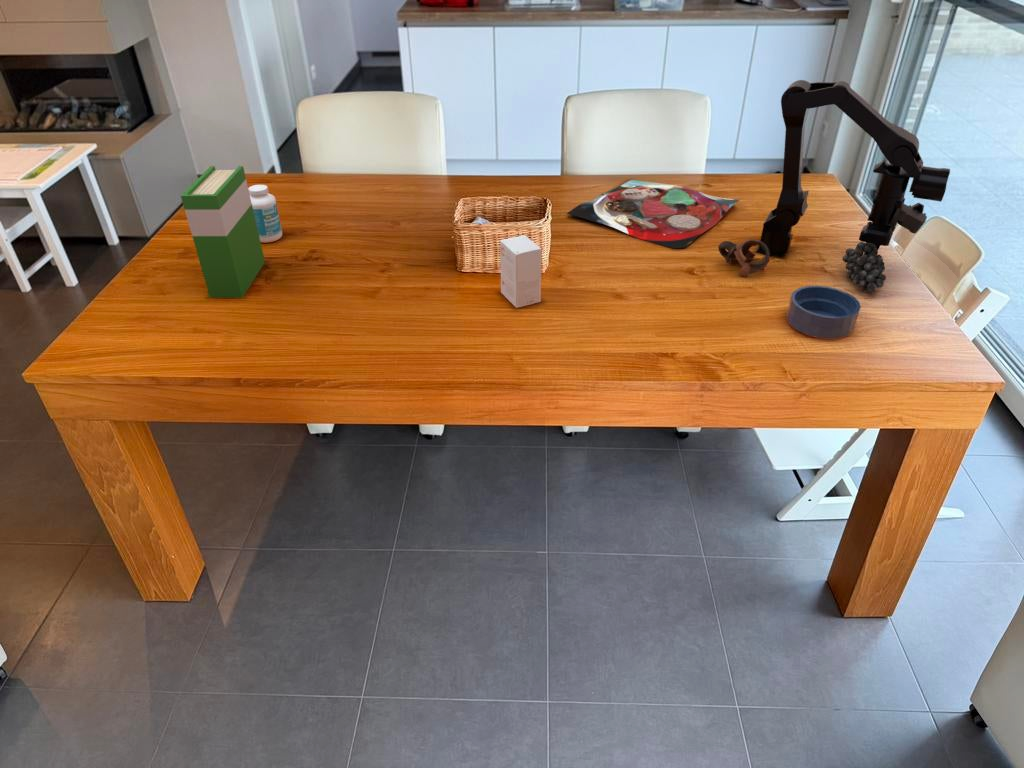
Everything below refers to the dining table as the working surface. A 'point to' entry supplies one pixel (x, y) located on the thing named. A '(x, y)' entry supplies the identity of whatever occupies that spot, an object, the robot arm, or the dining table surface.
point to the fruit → (865, 267)
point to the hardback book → (224, 231)
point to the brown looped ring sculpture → (744, 255)
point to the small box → (520, 270)
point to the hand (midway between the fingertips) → (871, 257)
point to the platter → (656, 212)
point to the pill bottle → (265, 213)
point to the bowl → (823, 312)
